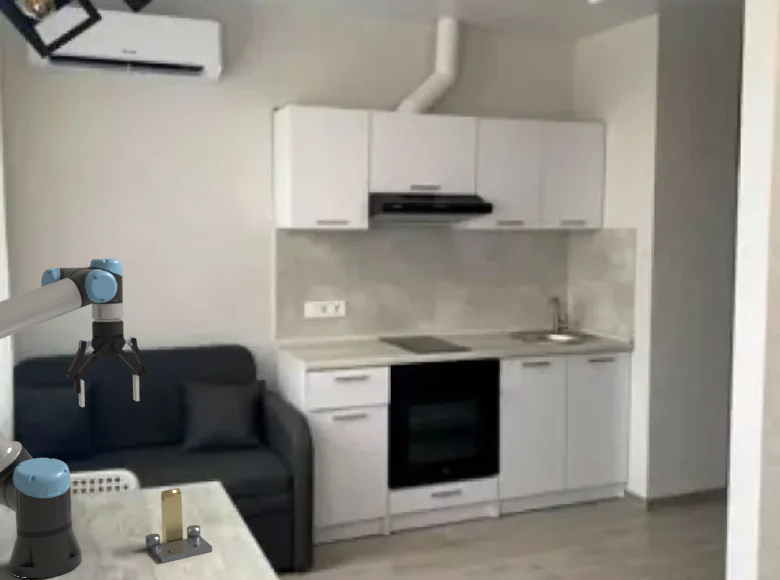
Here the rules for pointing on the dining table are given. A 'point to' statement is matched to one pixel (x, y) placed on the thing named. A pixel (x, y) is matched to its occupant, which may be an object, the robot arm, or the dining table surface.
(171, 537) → the brass rectangular post
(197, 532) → the fixed leaf
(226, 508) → the dining table surface
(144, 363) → the robot arm
